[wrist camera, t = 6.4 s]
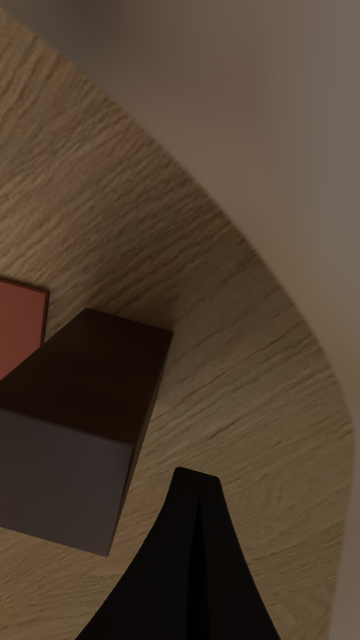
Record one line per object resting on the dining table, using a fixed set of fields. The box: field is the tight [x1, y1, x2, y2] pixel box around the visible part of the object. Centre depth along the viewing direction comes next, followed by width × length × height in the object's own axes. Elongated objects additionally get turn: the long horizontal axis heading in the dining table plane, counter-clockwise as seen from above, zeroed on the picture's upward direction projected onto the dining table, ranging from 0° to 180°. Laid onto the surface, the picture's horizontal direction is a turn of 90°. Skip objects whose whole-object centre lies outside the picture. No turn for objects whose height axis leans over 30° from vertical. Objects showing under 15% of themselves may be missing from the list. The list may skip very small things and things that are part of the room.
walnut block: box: [0, 308, 173, 557], centre depth 13 cm, size 4×4×8 cm
